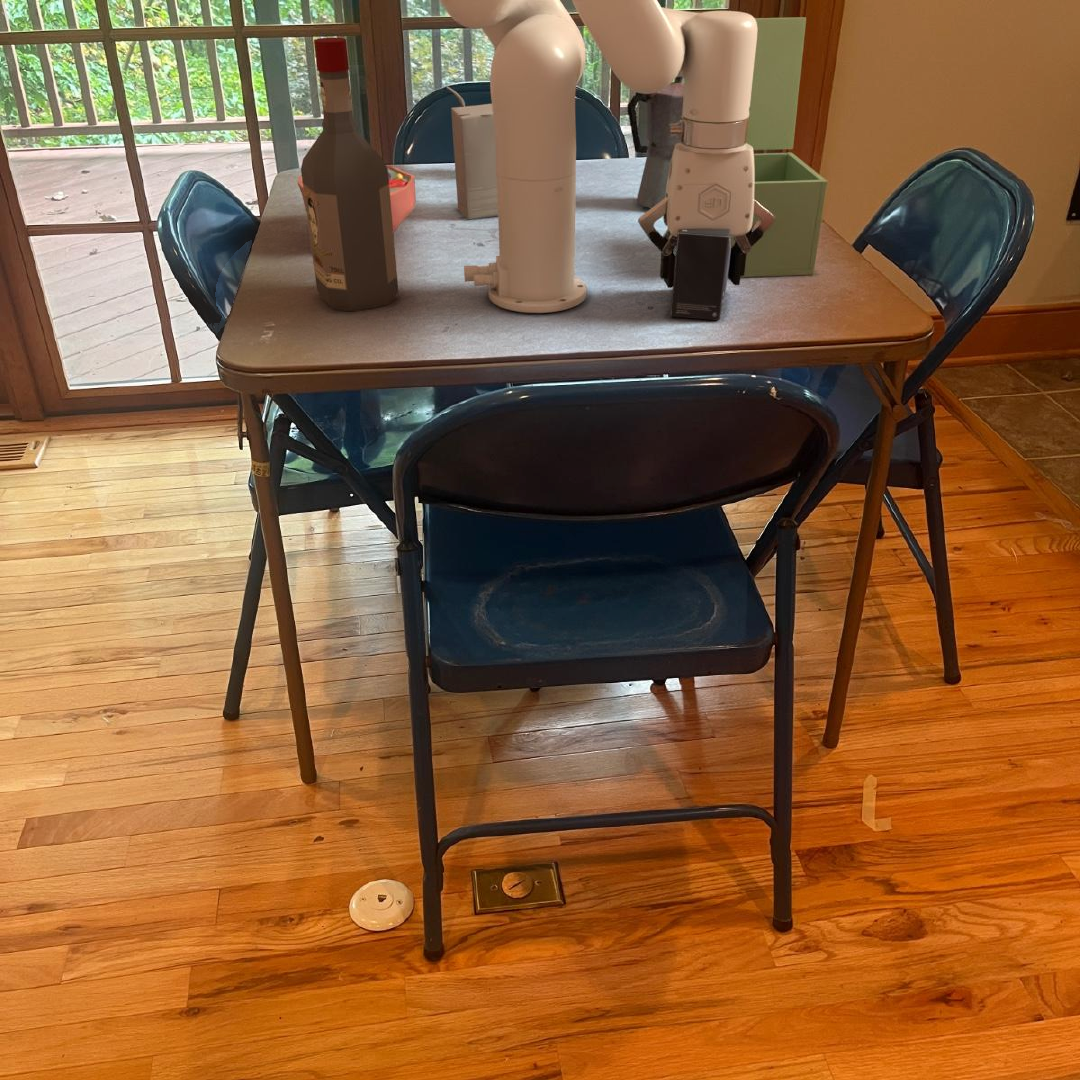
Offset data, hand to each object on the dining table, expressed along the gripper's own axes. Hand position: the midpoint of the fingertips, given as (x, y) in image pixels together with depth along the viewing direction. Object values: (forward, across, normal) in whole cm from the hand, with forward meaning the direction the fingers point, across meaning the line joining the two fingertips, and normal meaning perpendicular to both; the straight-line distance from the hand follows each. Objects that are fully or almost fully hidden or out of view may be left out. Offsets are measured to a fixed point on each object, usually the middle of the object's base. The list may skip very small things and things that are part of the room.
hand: (701, 282), depth 125 cm
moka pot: (+3, +4, +44) cm, 44 cm away
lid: (-18, +12, +25) cm, 33 cm away
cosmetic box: (+3, -25, +43) cm, 50 cm away
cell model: (+3, -44, +33) cm, 55 cm away
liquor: (+3, -43, +7) cm, 44 cm away
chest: (+3, +12, +17) cm, 21 cm away
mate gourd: (+3, -25, +66) cm, 71 cm away
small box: (+3, 0, 0) cm, 3 cm away
